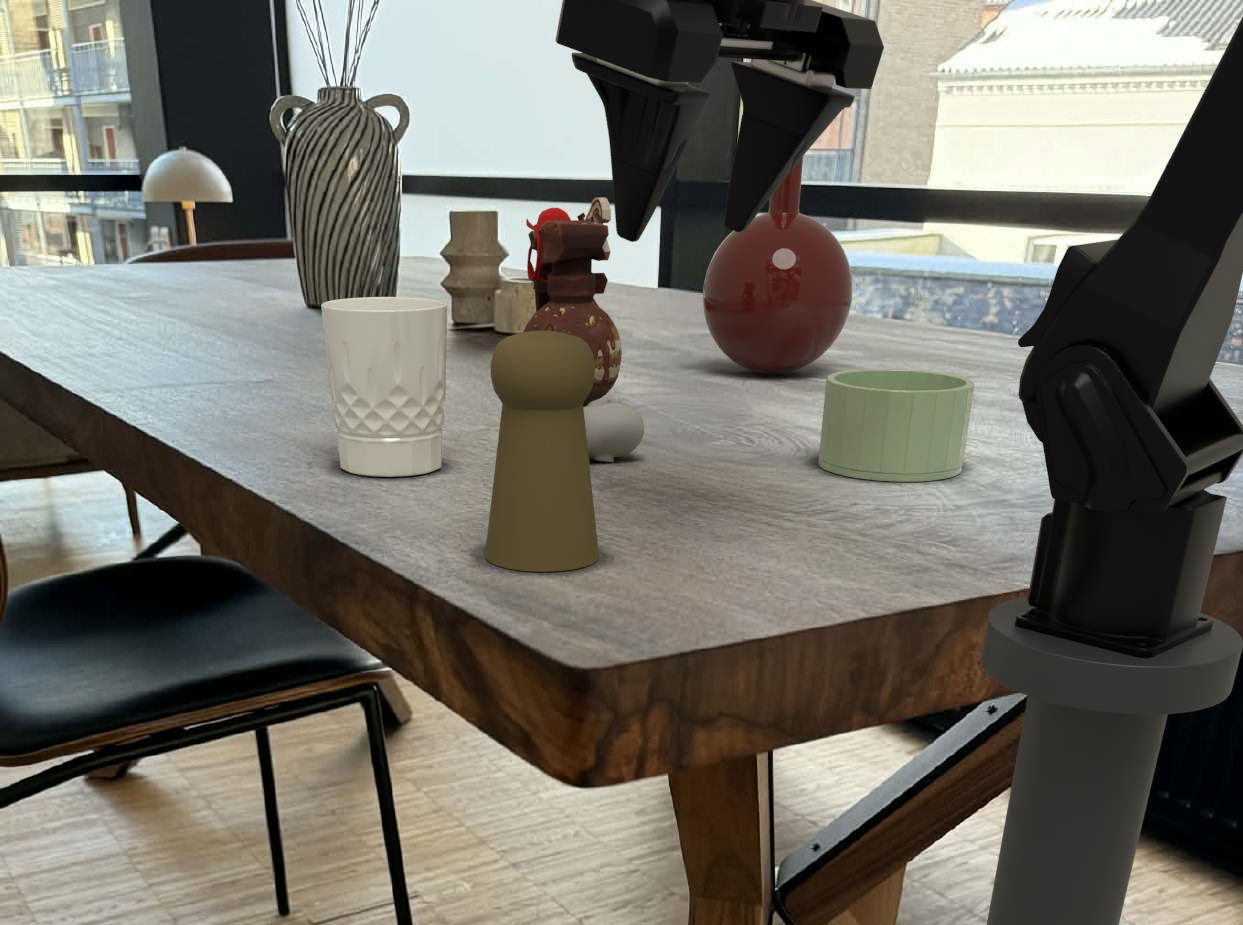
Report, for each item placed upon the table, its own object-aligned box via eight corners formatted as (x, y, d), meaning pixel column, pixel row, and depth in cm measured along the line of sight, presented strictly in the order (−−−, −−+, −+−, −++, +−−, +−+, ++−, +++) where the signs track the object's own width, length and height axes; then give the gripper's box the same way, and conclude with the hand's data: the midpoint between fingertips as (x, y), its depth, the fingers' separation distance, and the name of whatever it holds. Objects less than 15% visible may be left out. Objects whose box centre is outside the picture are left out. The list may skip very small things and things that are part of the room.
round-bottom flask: (671, 368, 134) (682, 121, 125) (785, 359, 140) (805, 122, 130) (753, 389, 124) (773, 122, 115) (874, 378, 130) (902, 123, 120)
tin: (988, 467, 97) (1002, 380, 94) (908, 488, 91) (920, 396, 89) (872, 447, 103) (881, 364, 100) (789, 465, 97) (797, 378, 94)
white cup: (341, 482, 92) (330, 312, 87) (323, 458, 98) (313, 298, 93) (462, 476, 94) (459, 308, 89) (437, 452, 100) (433, 295, 95)
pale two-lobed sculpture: (619, 467, 102) (657, 457, 97) (518, 476, 98) (553, 465, 94) (612, 403, 101) (651, 389, 96) (510, 409, 97) (545, 395, 93)
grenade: (501, 399, 119) (500, 195, 112) (594, 394, 122) (598, 194, 114) (537, 419, 112) (538, 201, 104) (635, 413, 114) (643, 200, 106)
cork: (469, 566, 75) (464, 337, 69) (505, 538, 80) (503, 323, 74) (581, 575, 73) (585, 343, 68) (611, 546, 78) (617, 328, 73)
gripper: (745, -164, 72) (665, 178, 81) (498, -226, 59) (437, 187, 69) (938, -111, 67) (828, 244, 77) (714, -166, 54) (616, 267, 64)
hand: (682, 234), depth 72 cm, fingers open, 9 cm apart
